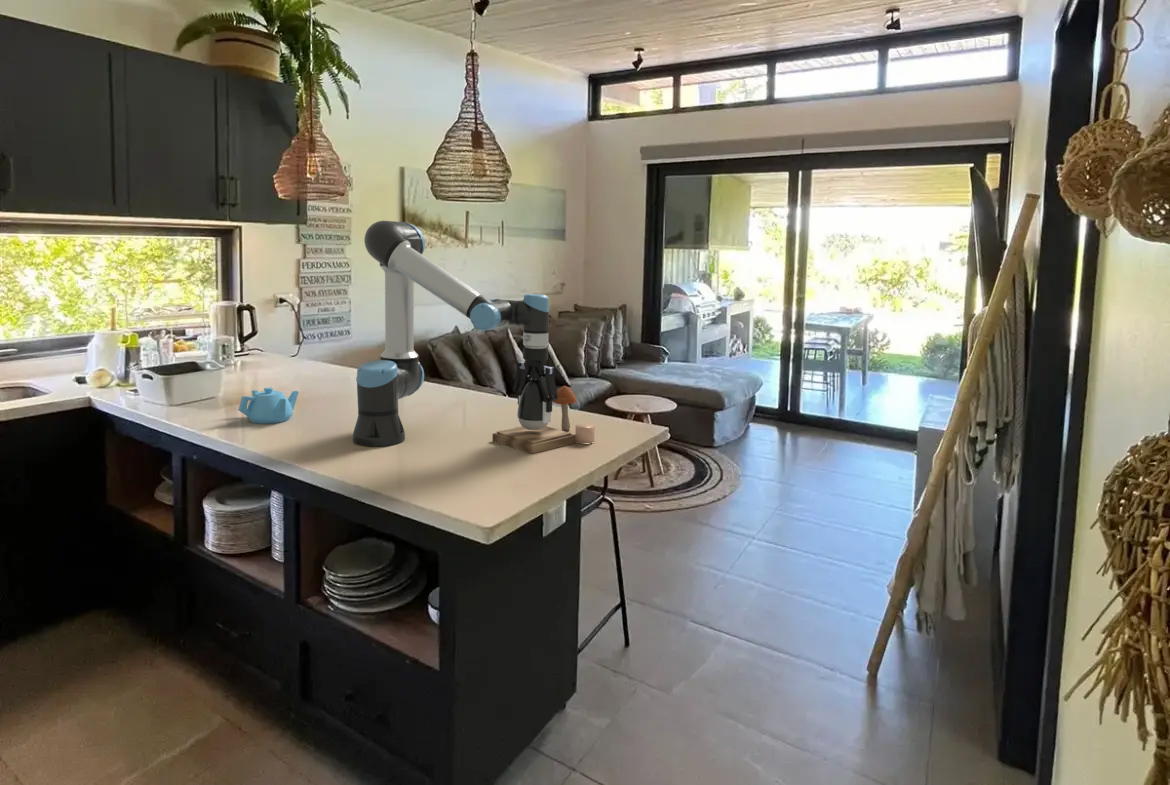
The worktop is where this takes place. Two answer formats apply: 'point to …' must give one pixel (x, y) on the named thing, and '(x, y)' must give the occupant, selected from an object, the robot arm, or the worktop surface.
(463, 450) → the worktop surface
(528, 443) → the walnut tray
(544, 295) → the robot arm
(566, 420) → the mushroom
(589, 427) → the pink rounded glossy part
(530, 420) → the pump dispenser
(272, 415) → the teapot
